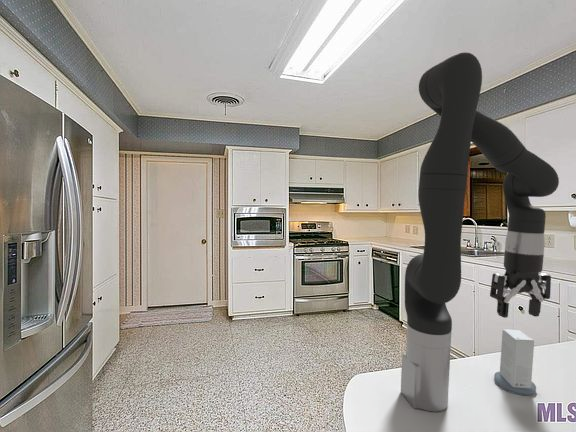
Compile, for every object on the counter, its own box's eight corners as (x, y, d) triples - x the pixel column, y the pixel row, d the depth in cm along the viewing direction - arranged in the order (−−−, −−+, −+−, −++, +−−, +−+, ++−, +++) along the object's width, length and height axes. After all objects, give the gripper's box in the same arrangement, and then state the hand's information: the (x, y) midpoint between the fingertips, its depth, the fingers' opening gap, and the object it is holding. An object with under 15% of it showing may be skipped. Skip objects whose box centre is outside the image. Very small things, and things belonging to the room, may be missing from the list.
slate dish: (513, 397, 73) (513, 393, 73) (486, 376, 81) (486, 372, 81) (545, 394, 74) (545, 390, 74) (514, 373, 82) (515, 370, 82)
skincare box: (531, 389, 74) (535, 340, 73) (512, 387, 75) (515, 339, 74) (516, 374, 80) (519, 329, 79) (498, 373, 81) (501, 328, 80)
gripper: (510, 253, 70) (505, 323, 72) (565, 253, 73) (558, 321, 74) (485, 247, 78) (480, 311, 79) (535, 247, 80) (530, 309, 81)
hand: (518, 315), depth 76 cm, fingers open, 8 cm apart
